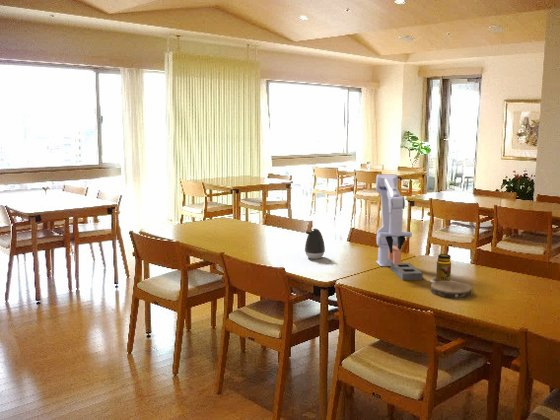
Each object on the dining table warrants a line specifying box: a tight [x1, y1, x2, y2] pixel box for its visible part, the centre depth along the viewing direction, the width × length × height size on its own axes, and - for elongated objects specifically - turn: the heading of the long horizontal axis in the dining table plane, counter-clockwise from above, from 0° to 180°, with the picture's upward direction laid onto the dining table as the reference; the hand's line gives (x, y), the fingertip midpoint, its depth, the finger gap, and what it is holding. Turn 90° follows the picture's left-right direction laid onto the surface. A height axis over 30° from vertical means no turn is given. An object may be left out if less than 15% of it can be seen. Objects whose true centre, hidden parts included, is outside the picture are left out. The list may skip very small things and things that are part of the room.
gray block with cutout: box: [390, 262, 423, 281], centre depth 258 cm, size 18×9×3 cm, turn 5°
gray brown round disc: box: [430, 280, 473, 300], centre depth 231 cm, size 16×16×3 cm
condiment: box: [429, 253, 453, 283], centre depth 246 cm, size 7×8×12 cm
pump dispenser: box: [304, 228, 326, 260], centre depth 287 cm, size 10×10×15 cm
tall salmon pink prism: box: [388, 246, 402, 264], centre depth 256 cm, size 10×3×6 cm, turn 4°
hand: (394, 252), depth 256 cm, fingers closed on tall salmon pink prism, 3 cm apart
